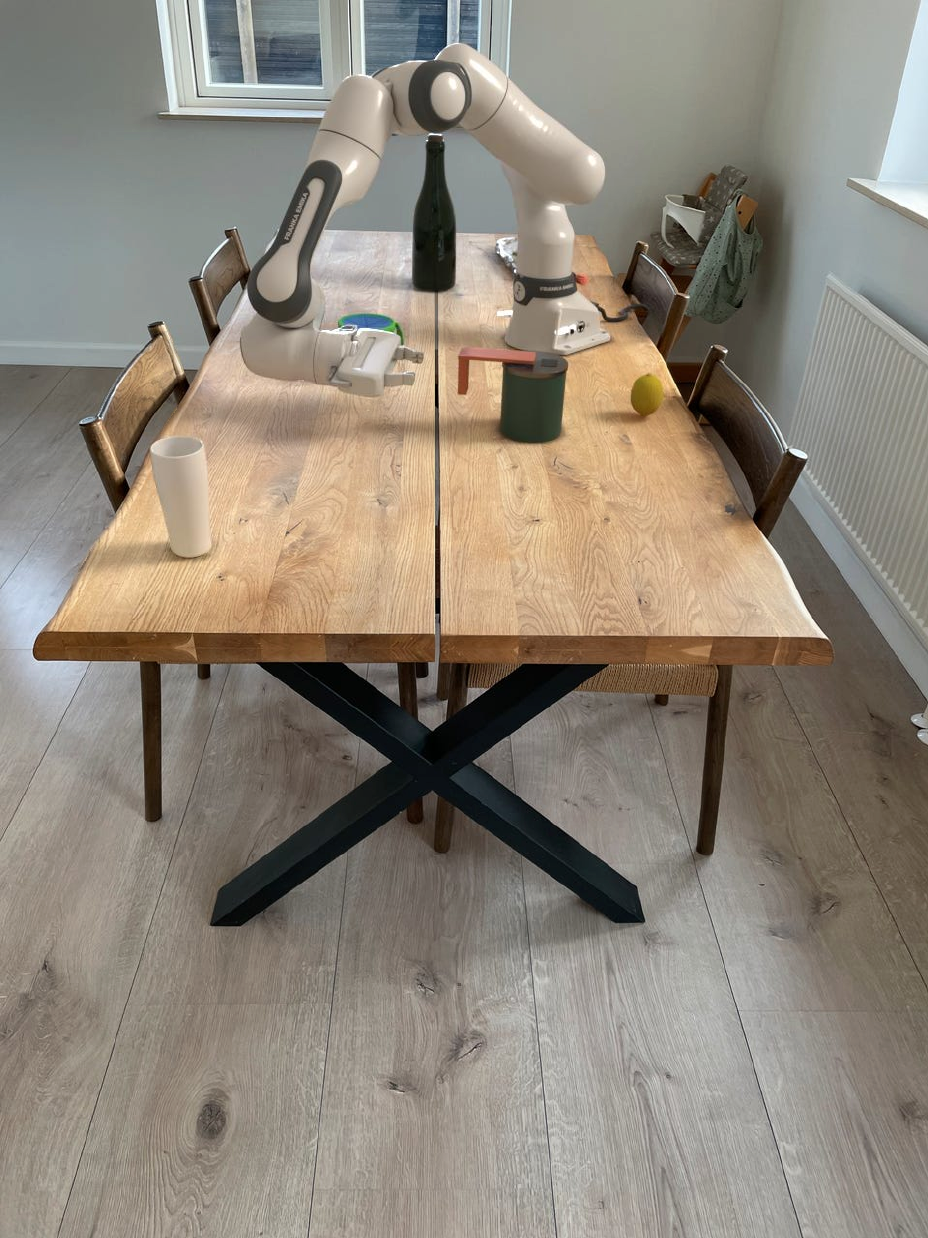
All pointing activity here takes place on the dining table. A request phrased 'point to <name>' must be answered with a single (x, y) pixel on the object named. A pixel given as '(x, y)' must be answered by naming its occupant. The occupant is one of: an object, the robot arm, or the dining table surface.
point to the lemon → (646, 395)
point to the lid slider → (487, 355)
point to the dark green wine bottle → (434, 225)
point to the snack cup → (372, 323)
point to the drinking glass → (183, 493)
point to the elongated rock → (508, 252)
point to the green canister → (533, 398)
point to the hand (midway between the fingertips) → (418, 367)
